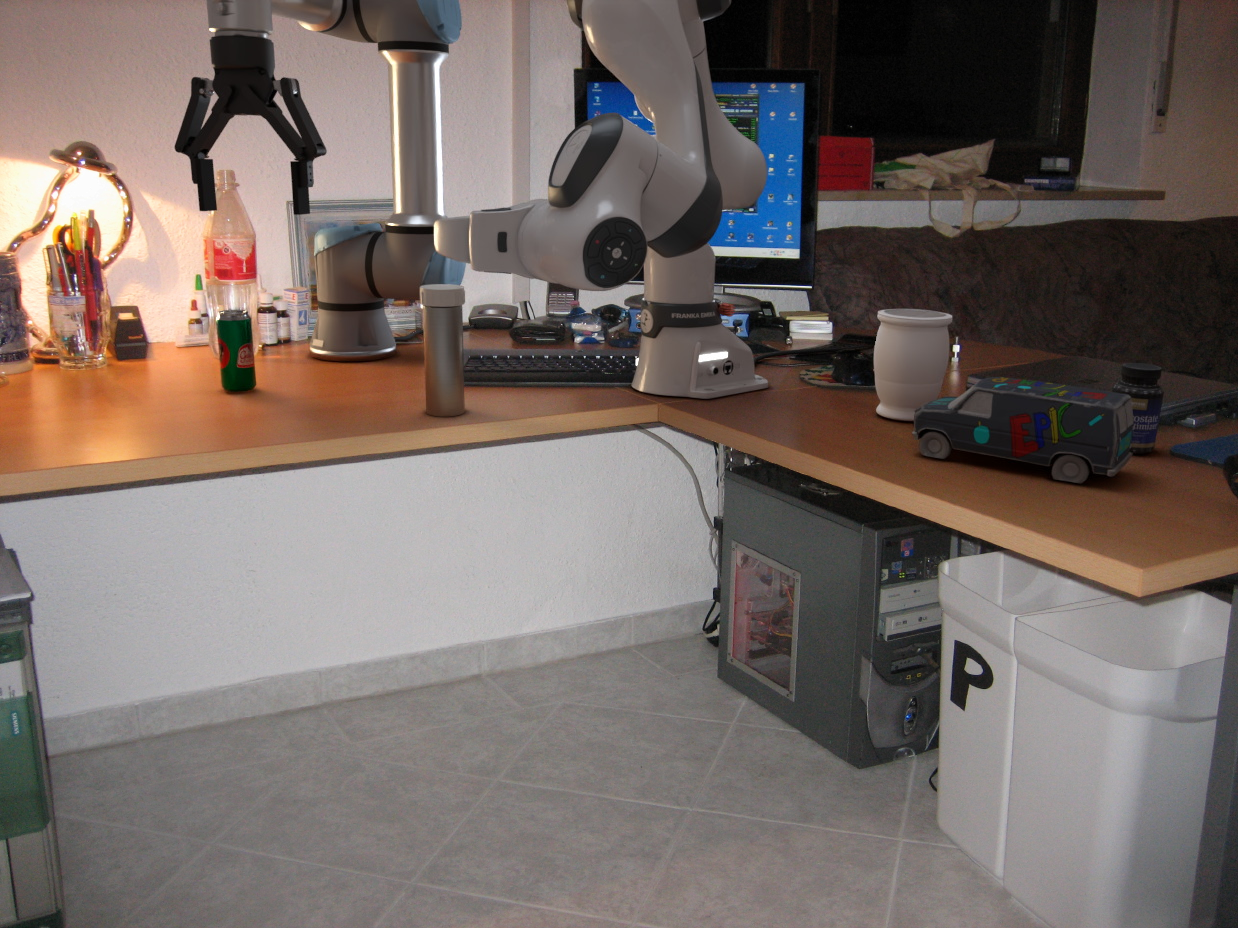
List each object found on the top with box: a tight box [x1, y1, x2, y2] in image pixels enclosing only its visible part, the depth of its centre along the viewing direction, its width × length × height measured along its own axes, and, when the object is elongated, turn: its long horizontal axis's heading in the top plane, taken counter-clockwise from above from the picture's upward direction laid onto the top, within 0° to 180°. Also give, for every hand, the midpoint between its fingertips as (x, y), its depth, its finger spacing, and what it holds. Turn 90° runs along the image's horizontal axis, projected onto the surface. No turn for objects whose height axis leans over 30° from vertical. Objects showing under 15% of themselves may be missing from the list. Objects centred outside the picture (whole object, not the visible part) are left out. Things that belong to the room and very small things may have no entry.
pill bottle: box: [1111, 362, 1165, 455], centre depth 139 cm, size 6×6×11 cm
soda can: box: [215, 309, 257, 393], centre depth 163 cm, size 5×5×12 cm
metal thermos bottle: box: [422, 305, 466, 418], centre depth 151 cm, size 6×6×18 cm
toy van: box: [911, 376, 1135, 484], centre depth 132 cm, size 11×25×10 cm, turn 54°
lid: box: [419, 284, 466, 307], centre depth 149 cm, size 6×6×2 cm
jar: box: [873, 308, 953, 422], centre depth 154 cm, size 11×10×15 cm
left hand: (254, 213), depth 138 cm, fingers open, 13 cm apart
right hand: (497, 231), depth 130 cm, fingers open, 8 cm apart
